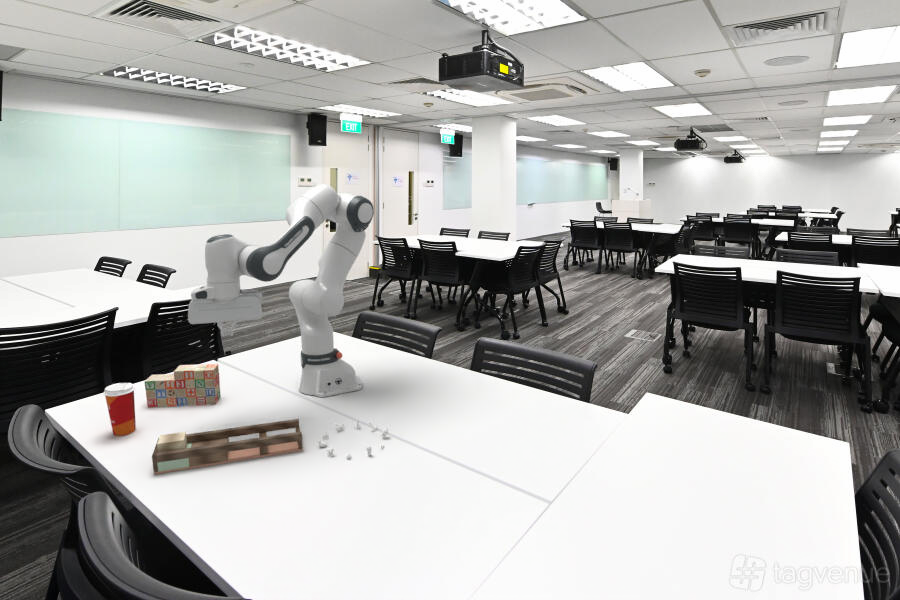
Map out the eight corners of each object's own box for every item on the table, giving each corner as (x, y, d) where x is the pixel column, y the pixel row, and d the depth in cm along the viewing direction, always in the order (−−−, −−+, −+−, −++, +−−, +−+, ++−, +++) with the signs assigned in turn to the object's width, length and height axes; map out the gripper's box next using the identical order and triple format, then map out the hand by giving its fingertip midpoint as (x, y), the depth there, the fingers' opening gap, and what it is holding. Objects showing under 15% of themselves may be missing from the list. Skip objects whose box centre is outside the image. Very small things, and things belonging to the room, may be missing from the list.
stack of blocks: (146, 408, 167) (142, 372, 164) (154, 400, 173) (150, 365, 170) (216, 404, 170) (213, 369, 168) (221, 397, 176) (218, 363, 174)
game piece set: (390, 427, 156) (390, 416, 155) (384, 461, 136) (384, 448, 136) (326, 428, 155) (325, 416, 154) (311, 462, 136) (310, 448, 135)
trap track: (299, 434, 150) (298, 418, 149) (302, 450, 141) (301, 433, 140) (160, 455, 137) (158, 438, 136) (154, 474, 128) (151, 456, 127)
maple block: (187, 445, 137) (185, 431, 136) (185, 454, 132) (183, 440, 131) (161, 449, 134) (160, 435, 134) (158, 458, 130) (157, 443, 129)
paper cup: (118, 425, 154) (112, 382, 151) (144, 425, 154) (139, 381, 152) (103, 438, 146) (96, 392, 143) (131, 437, 147) (125, 391, 144)
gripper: (261, 286, 157) (264, 330, 160) (187, 290, 150) (191, 335, 153) (262, 290, 151) (264, 335, 154) (184, 294, 144) (189, 341, 147)
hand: (227, 335), depth 153 cm, fingers closed
